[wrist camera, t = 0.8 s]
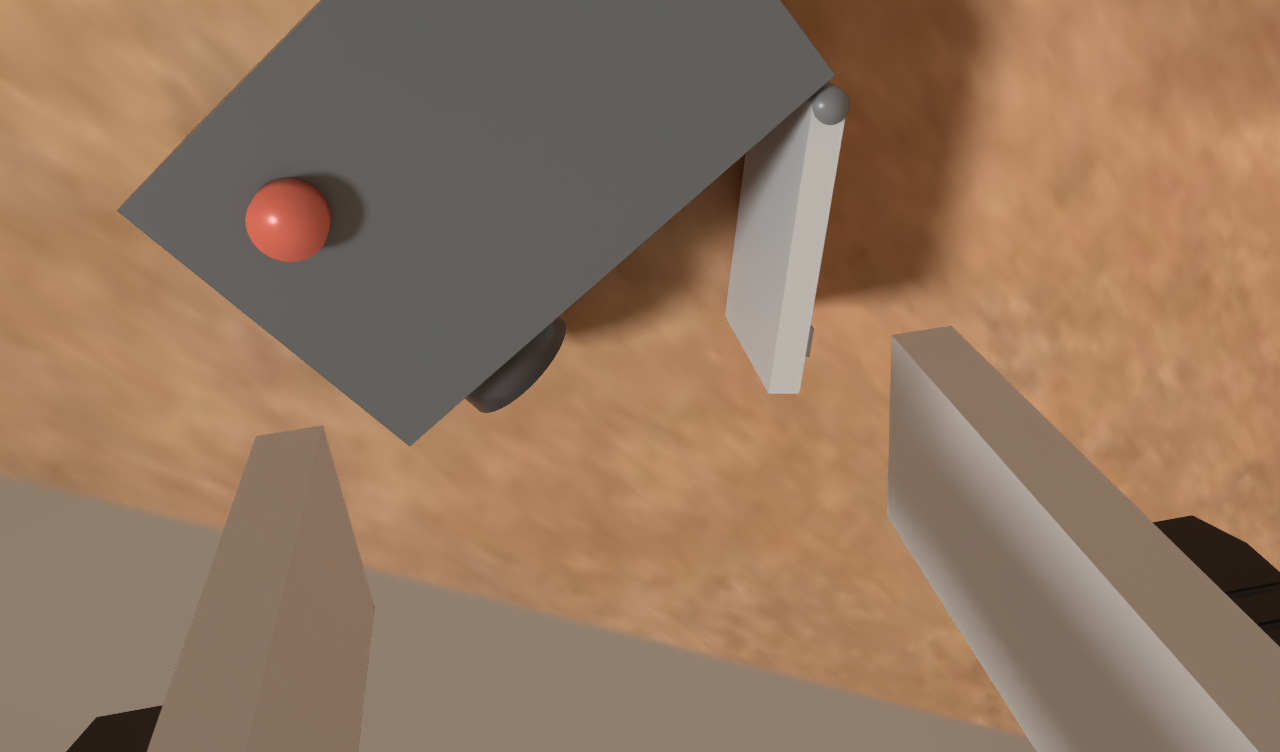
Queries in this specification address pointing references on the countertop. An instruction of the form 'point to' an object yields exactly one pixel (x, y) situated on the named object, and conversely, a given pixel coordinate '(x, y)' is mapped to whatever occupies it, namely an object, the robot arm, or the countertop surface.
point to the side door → (784, 237)
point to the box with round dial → (462, 177)
